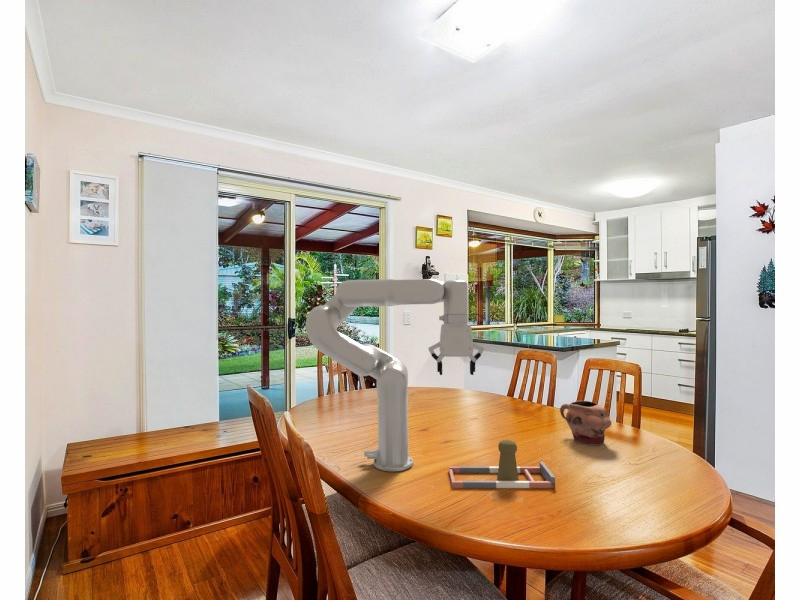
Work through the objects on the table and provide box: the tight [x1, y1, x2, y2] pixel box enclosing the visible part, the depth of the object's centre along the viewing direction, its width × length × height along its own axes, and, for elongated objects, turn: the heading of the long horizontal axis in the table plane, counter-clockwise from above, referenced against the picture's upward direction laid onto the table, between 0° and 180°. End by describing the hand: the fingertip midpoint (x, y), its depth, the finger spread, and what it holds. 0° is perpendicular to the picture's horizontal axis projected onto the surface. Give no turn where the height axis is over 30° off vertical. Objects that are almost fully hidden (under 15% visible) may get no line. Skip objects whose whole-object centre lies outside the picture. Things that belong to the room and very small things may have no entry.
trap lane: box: [448, 461, 556, 489], centre depth 122 cm, size 28×11×3 cm, turn 88°
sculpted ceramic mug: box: [559, 400, 612, 446], centre depth 153 cm, size 20×12×14 cm, turn 38°
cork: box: [496, 439, 520, 481], centre depth 122 cm, size 6×6×11 cm
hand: (456, 374), depth 133 cm, fingers open, 9 cm apart
